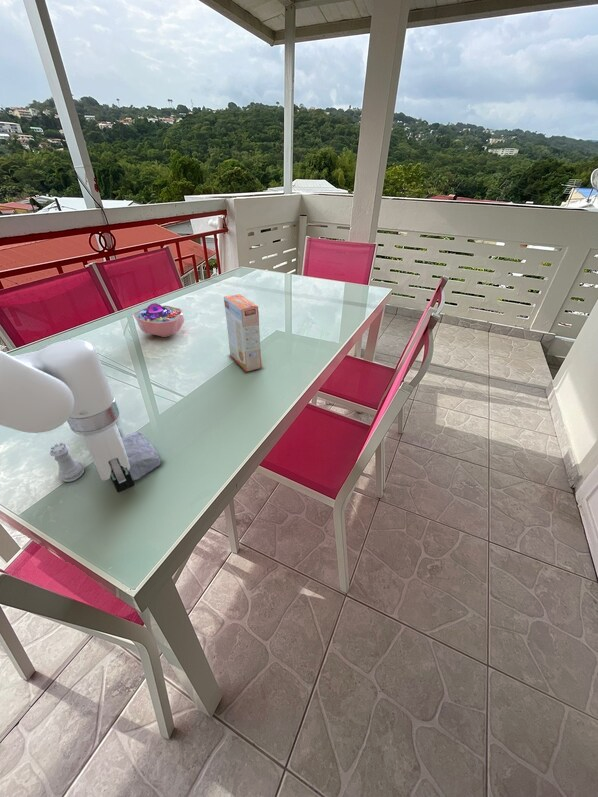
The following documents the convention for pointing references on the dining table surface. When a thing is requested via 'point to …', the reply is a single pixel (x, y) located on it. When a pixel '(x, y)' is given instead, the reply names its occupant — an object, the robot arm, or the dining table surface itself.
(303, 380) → the dining table surface
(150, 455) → the stone block
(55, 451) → the rook chess piece
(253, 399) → the dining table surface
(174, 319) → the cell model
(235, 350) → the cracker box
